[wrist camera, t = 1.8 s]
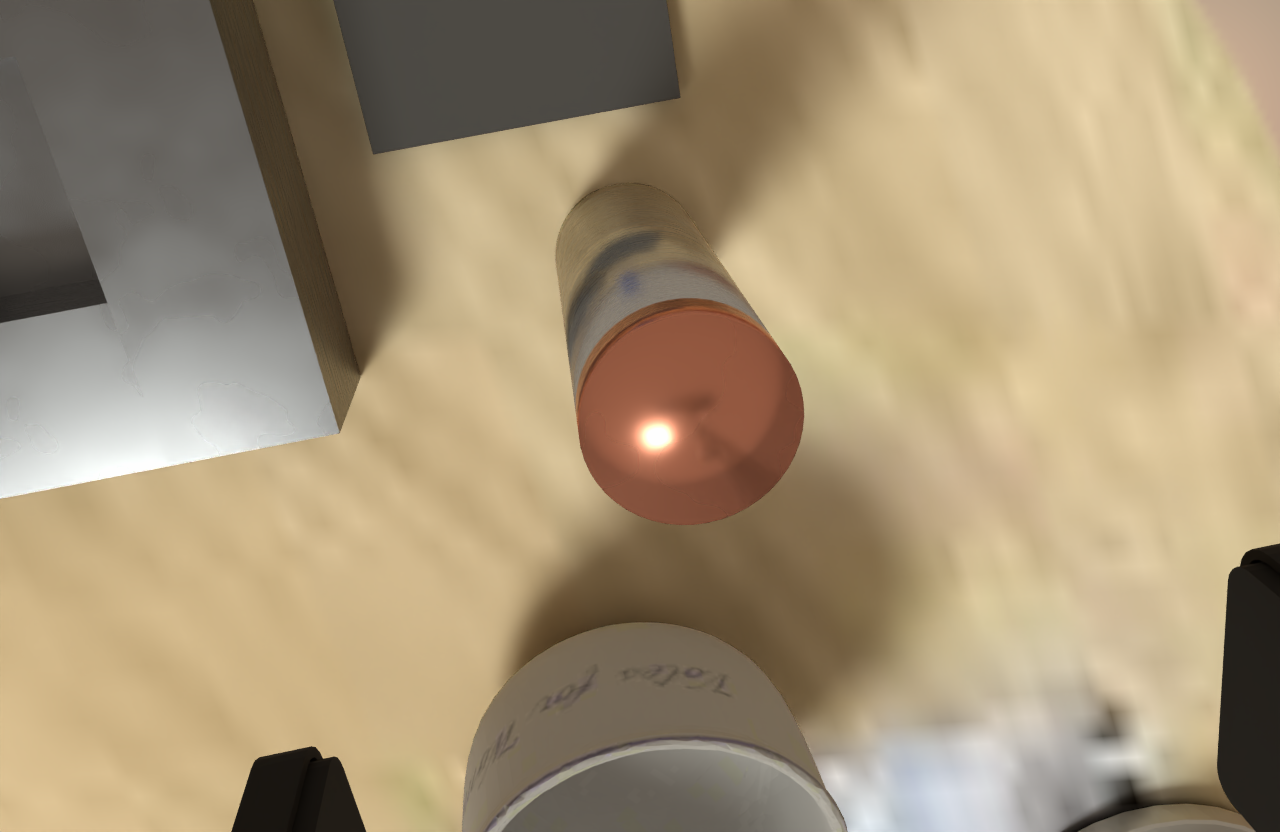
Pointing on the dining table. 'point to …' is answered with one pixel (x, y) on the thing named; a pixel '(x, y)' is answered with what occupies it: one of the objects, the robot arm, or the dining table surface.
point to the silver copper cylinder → (669, 363)
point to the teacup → (643, 742)
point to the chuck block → (154, 246)
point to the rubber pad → (500, 63)
